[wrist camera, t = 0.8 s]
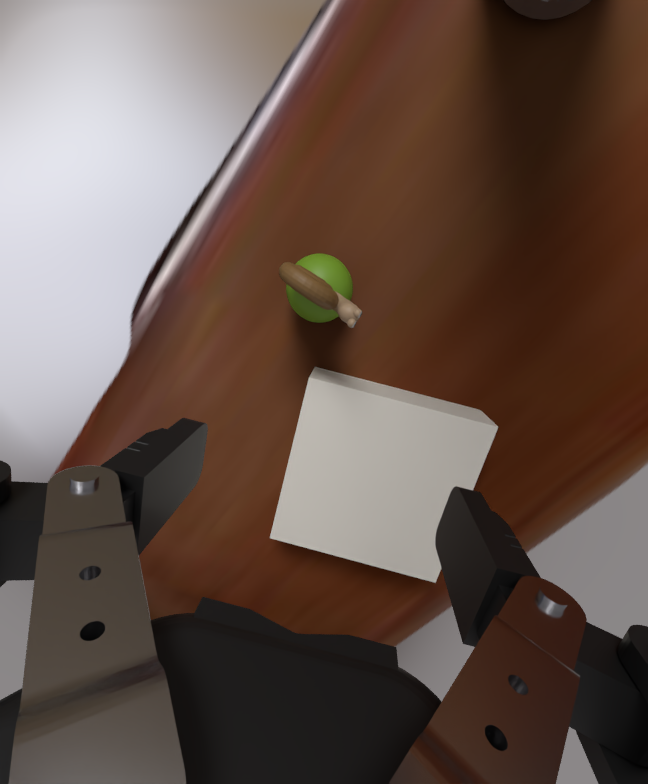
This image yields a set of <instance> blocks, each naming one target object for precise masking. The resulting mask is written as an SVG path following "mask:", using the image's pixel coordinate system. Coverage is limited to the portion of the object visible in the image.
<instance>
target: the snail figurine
mask: <svg viewBox="0 0 648 784" xmlns="http://www.w3.org/2000/svg"><path fill="white" fill-rule="evenodd" d="M279 275H280V277H281V279H282V280H283V281H284V282H285V283H286V292H287V297H288V300H289V303H290V305H291V307H292V308H293V309H294V311H295V312H296V313H297V314H298V315H299V316H301V317H302V318H304V319H306V320H308V321H311V322H318V323H322V322H328V321H331V320H333V319H335V318H337V317H338V316H339V317H340V319H341V320H342V321H343V322H345V323H347V325H348V326H349V327H350V328H353V327H354V326H355V324H356V321H358V319H359V317H360V316H361V315H362V311H361V310H360V309H358V307H357V306H356V305H355V304H353V303H352V302H351V297H352V292H353V284H352V279H351V276H350V273H349V271H348V270H347V268H346V267H345V266H344V264H343V263H342V262H340V261H339V260H338V259H336V258H335V257H333V256H330V255H327V254H312V255H309V256H306V257H304V258H302V259H301V260H300V261H298V262H297V263H296V264H293V263H290V262H285V263H283V264H282V265H281V266H280V268H279Z"/></svg>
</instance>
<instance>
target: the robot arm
mask: <svg viewBox="0 0 648 784" xmlns="http://www.w3.org/2000/svg"><path fill="white" fill-rule="evenodd" d="M504 1H505V3H506V4H507V5H508V6H509V7H511V8H512V9H513V10H515V11H516V12H517V13H519V14H522V15H524V16H527V17H529V18H533V19H542V20H548V19H555V18H561V17H563V16H566V15H568V14H571V13H574V12H576V11H577V10H579V9H580V8H582V7H584V6H585V5H587V4H588V3H589V2H591V1H592V0H504ZM207 431H208V427H207V424H206V423H202V422H198V421H194V420H190V419H186V418H182V419H180V420H179V421H178V422H177V423H175V424H174V425H173V426H171V427H170V428H169V429H163V428H161V429H158V430H155V431H152V432H149V433H146V434H145V435H143V436H142V437H141V438H139V439H138V440H136V442H133V443H132V444H131V445H129V446H128V447H127V449H126V448H125V449H124V450H122V451H121V452H119V453H118V454H117V455H115V456H114V457H112V458H111V459H109V460H108V461H107V462H105V463H104V464H102V465H101V466H78V467H73V468H69V469H66V470H63V471H61V472H59V473H57V474H56V475H54V476H53V477H52V478H51V479H50V480H49V482H48V483H34V482H33V483H32V482H12V481H11V468H10V466H9V465H8V464H7V463H5V462H3V461H0V587H1V586H2V585H3V584H4V583H5V582H6V581H7V580H34V588H33V597H32V606H31V615H30V624H29V632H28V641H27V650H26V659H25V668H24V678H23V687H22V689H20V690H18V691H16V692H14V693H13V694H11V695H9V696H7V697H5V698H3V699H2V700H0V784H556V780H557V776H558V771H559V767H560V763H561V759H562V754H563V750H564V745H565V741H566V737H567V733H568V729H569V727H571V728H573V729H575V730H576V732H577V735H578V737H579V740H580V742H581V744H582V746H583V749H584V751H585V753H586V756H587V758H588V760H589V763H590V764H591V767H592V769H593V772H594V774H595V776H596V779H597V781H598V783H599V784H648V627H647V626H642V625H633V626H631V627H630V628H629V629H628V631H627V633H626V634H625V636H624V638H623V639H621V638H619V637H617V636H615V635H613V634H610V633H608V632H606V631H604V630H602V629H600V628H598V627H596V626H593V625H592V624H590V623H588V622H586V615H585V613H584V611H583V609H582V608H581V607H580V605H579V604H578V603H577V602H576V601H575V600H574V599H573V598H572V597H571V596H570V595H569V594H568V593H566V592H565V591H564V590H563V589H561V588H559V587H558V586H556V585H554V584H553V583H551V582H549V581H547V580H544V579H542V578H540V576H539V574H538V573H537V571H536V569H535V568H534V566H533V564H532V563H531V561H530V559H529V558H528V556H527V554H526V553H525V551H524V550H523V549H521V547H522V546H521V545H520V543H519V541H518V540H517V539H515V535H514V533H513V532H512V530H511V528H510V527H509V525H508V524H507V523H506V522H505V521H504V520H503V519H502V518H501V517H500V516H499V515H498V514H497V513H495V512H493V511H491V510H490V508H489V506H488V504H487V503H486V501H485V499H484V497H483V496H482V494H481V493H480V492H477V491H473V490H469V489H465V488H461V487H457V486H456V487H454V488H453V489H452V491H451V493H450V495H449V498H448V501H447V503H446V506H445V509H444V511H443V514H442V516H441V519H440V522H439V524H438V527H437V531H436V537H435V545H436V550H437V554H438V557H439V561H440V564H441V568H442V571H443V575H444V578H445V582H446V585H447V589H448V592H449V596H450V600H451V603H452V607H453V610H454V613H455V617H456V620H457V624H458V627H459V631H460V634H461V638H462V642H463V644H466V645H470V646H474V647H475V648H474V650H473V652H472V653H471V655H470V657H469V658H468V660H467V662H466V663H465V665H464V667H463V668H462V670H461V671H460V673H459V675H458V676H457V678H456V679H455V681H454V683H453V684H452V686H451V688H450V689H449V691H448V692H447V694H446V696H445V697H444V699H443V701H442V702H441V701H440V700H439V698H438V697H437V696H436V695H435V694H434V693H433V692H432V691H431V690H430V689H429V688H428V687H426V686H425V685H424V684H423V683H422V682H420V681H419V680H418V679H417V678H415V677H414V676H412V675H411V674H409V673H408V672H406V671H405V670H403V669H401V668H399V667H398V660H397V650H396V647H393V646H389V645H385V644H381V643H378V642H374V641H370V640H366V639H362V638H358V637H355V636H351V635H321V634H297V633H294V632H292V631H290V630H288V629H286V628H284V627H282V626H280V625H278V624H277V623H275V622H273V621H271V620H269V619H267V618H265V617H263V616H262V615H260V614H258V613H256V612H254V611H252V610H250V609H247V608H243V607H239V606H236V605H232V604H228V603H224V602H220V601H216V600H213V599H209V598H205V597H202V599H201V601H200V603H199V605H198V607H197V609H196V611H195V613H184V614H174V615H169V616H165V617H160V618H157V619H154V620H150V615H149V609H148V604H147V599H146V593H145V588H144V583H143V577H142V572H141V566H140V561H139V555H140V553H141V552H142V551H143V550H144V548H145V547H146V546H147V545H148V544H149V542H150V541H151V540H152V539H153V537H154V536H155V535H156V534H157V532H158V531H159V530H160V529H161V527H162V526H163V525H164V524H165V523H166V521H167V520H168V519H169V518H170V516H171V515H172V514H173V513H174V511H175V510H176V509H177V508H178V506H179V505H180V504H181V503H182V502H183V500H184V499H185V498H186V497H187V495H188V494H189V493H190V492H191V490H192V489H193V488H194V487H195V485H196V484H197V482H198V480H199V477H200V474H201V471H202V466H203V459H204V452H205V445H206V438H207Z"/></svg>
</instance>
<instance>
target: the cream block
mask: <svg viewBox="0 0 648 784" xmlns="http://www.w3.org/2000/svg"><path fill="white" fill-rule="evenodd" d="M497 429H498V426H497V425H496V424H495V423H494V422H493V421H492V420H490V419H489V418H488V417H487V416H486V415H485V414H484V413H483V412H482V411H481V410H479V409H475V408H471V407H467V406H463V405H460V404H456V403H452V402H448V401H444V400H440V399H437V398H433V397H429V396H425V395H421V394H418V393H414V392H410V391H406V390H402V389H398V388H395V387H391V386H387V385H383V384H379V383H375V382H372V381H368V380H364V379H360V378H356V377H353V376H349V375H345V374H341V373H337V372H333V371H330V370H326V369H322V368H318V367H314V369H313V371H312V373H311V375H310V376H309V379H308V384H307V388H306V392H305V396H304V400H303V404H302V408H301V412H300V416H299V420H298V425H297V429H296V433H295V437H294V441H293V445H292V449H291V453H290V457H289V461H288V466H287V470H286V474H285V478H284V482H283V486H282V490H281V494H280V498H279V502H278V507H277V511H276V515H275V519H274V523H273V527H272V531H271V535H270V538H271V539H275V540H279V541H282V542H286V543H290V544H293V545H297V546H301V547H305V548H308V549H312V550H316V551H319V552H323V553H327V554H331V555H334V556H338V557H342V558H345V559H349V560H353V561H356V562H360V563H364V564H368V565H371V566H375V567H379V568H382V569H386V570H390V571H393V572H397V573H401V574H405V575H408V576H412V577H416V578H419V579H423V580H427V581H431V582H434V583H436V580H437V578H438V575H439V573H440V570H441V564H440V561H439V557H438V554H437V550H436V545H435V537H436V531H437V527H438V524H439V522H440V519H441V516H442V514H443V511H444V509H445V506H446V503H447V501H448V498H449V495H450V493H451V491H452V489H453V488H454V487H456V486H457V487H461V488H465V489H469V490H473V489H474V486H475V484H476V481H477V479H478V476H479V474H480V471H481V469H482V466H483V464H484V461H485V459H486V456H487V454H488V452H489V449H490V447H491V444H492V442H493V439H494V437H495V434H496V432H497Z"/></svg>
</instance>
